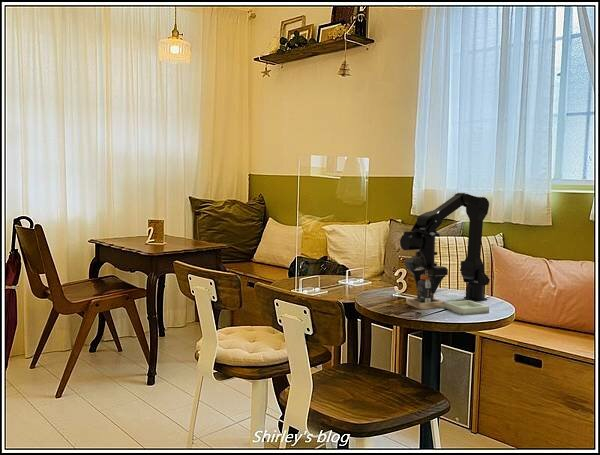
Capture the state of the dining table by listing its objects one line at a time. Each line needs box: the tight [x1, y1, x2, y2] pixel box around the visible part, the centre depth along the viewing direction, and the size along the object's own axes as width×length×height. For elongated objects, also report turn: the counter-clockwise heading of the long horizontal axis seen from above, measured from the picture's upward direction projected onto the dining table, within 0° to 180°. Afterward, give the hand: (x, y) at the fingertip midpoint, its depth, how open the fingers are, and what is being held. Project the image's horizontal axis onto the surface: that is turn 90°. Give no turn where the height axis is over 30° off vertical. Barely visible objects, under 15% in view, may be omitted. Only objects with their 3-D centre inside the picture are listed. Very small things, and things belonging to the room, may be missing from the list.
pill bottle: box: [416, 274, 435, 303], centre depth 213 cm, size 6×6×11 cm
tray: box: [443, 299, 490, 316], centre depth 206 cm, size 11×11×2 cm
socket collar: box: [405, 297, 445, 310], centre depth 213 cm, size 10×10×2 cm
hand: (425, 291), depth 213 cm, fingers open, 9 cm apart
